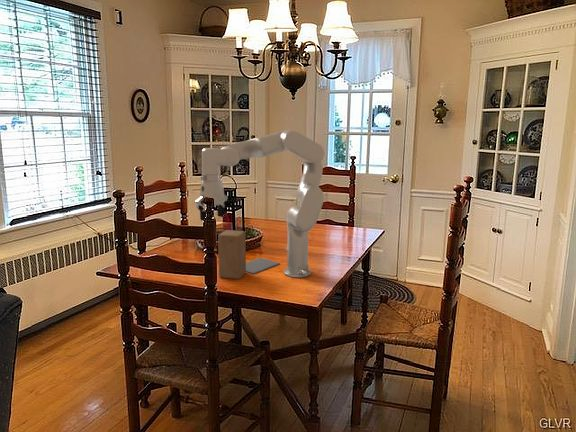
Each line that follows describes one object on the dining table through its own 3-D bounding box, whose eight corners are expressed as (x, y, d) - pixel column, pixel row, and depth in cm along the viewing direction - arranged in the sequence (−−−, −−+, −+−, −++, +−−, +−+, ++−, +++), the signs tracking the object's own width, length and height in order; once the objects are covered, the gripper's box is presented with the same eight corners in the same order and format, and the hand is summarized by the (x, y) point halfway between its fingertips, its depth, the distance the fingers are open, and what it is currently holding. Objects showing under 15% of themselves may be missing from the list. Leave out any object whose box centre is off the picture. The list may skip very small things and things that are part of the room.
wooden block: (239, 279, 202) (239, 236, 197) (218, 278, 204) (217, 234, 199) (246, 272, 211) (246, 230, 207) (226, 270, 213) (225, 229, 209)
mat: (253, 274, 209) (253, 273, 209) (233, 268, 217) (233, 267, 216) (279, 264, 223) (279, 262, 223) (259, 258, 231) (259, 257, 231)
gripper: (201, 181, 180) (202, 223, 184) (232, 176, 193) (233, 216, 197) (189, 179, 184) (190, 220, 188) (220, 175, 198) (221, 213, 201)
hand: (212, 218), depth 193 cm, fingers open, 9 cm apart
